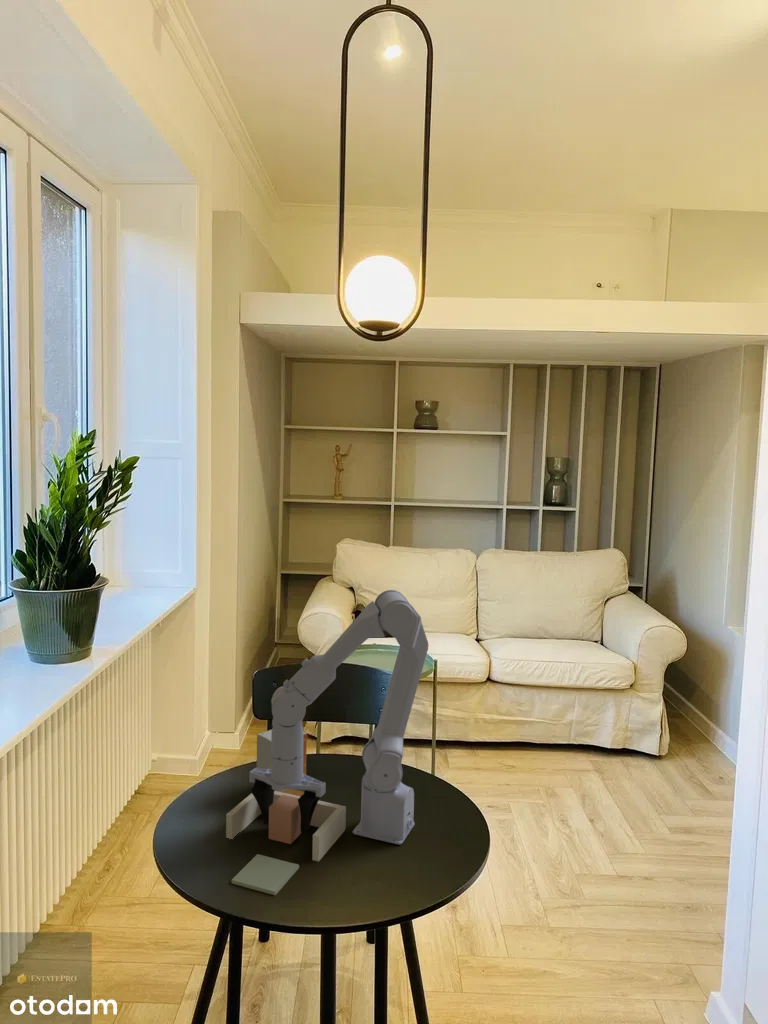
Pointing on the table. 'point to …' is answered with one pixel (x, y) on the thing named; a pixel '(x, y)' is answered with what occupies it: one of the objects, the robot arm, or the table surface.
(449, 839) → the table surface
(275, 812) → the block
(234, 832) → the u-shaped wall
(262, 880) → the mat
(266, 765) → the small box
